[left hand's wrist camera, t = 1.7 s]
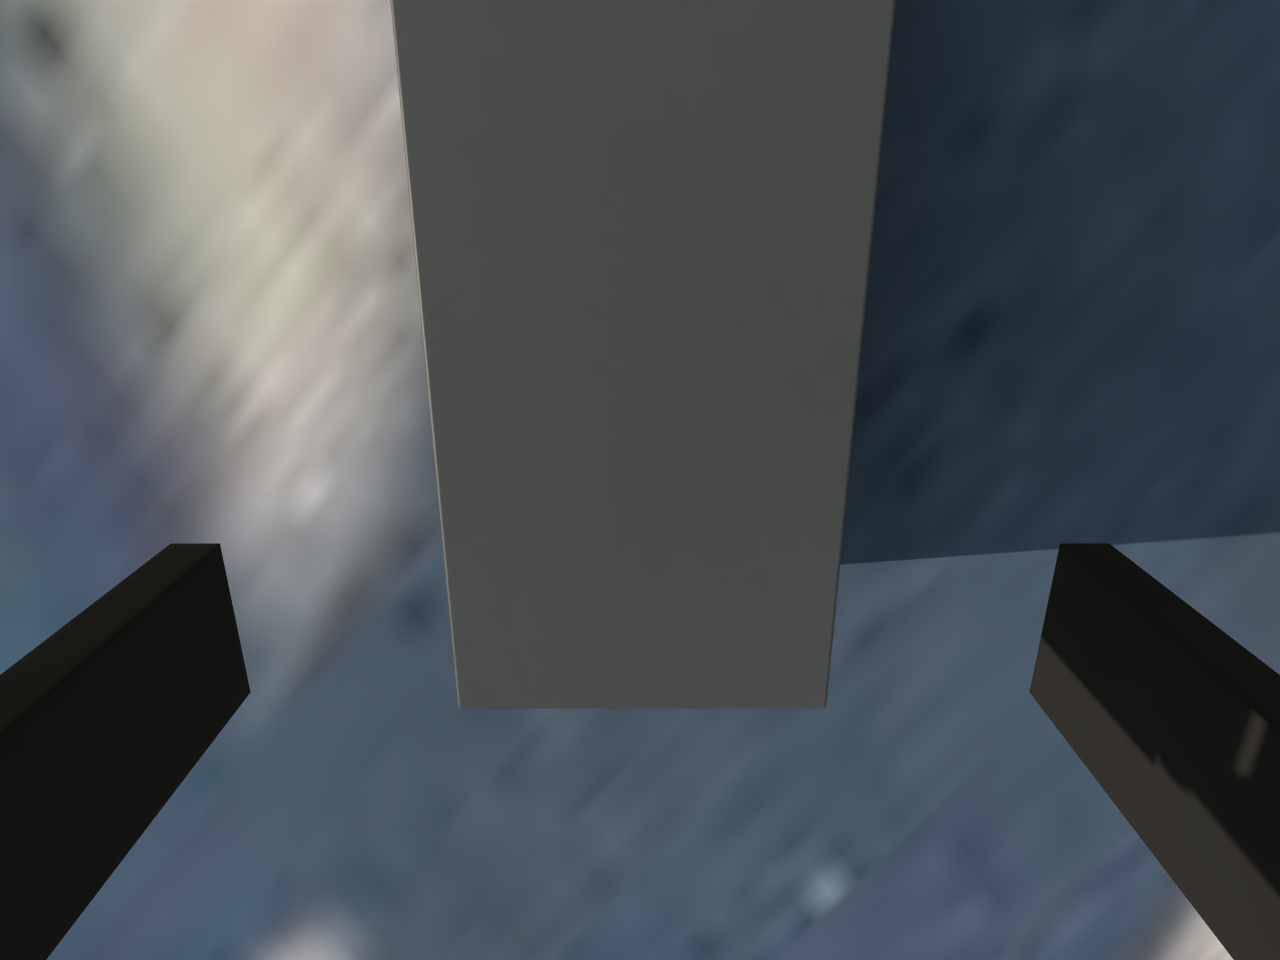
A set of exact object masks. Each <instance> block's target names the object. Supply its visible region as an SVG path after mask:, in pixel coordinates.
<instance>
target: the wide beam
mask: <svg viewBox="0 0 1280 960" xmlns="http://www.w3.org/2000/svg"><path fill="white" fill-rule="evenodd" d="M390 1H391V11H392V22H393V32H394V42H395V53H396V63H397V74H398V84H399V94H400V105H401V115H402V125H403V136H404V146H405V156H406V167H407V177H408V188H409V198H410V208H411V219H412V229H413V239H414V250H415V260H416V270H417V281H418V291H419V302H420V312H421V322H422V333H423V343H424V353H425V364H426V374H427V384H428V395H429V405H430V416H431V426H432V436H433V447H434V457H435V467H436V478H437V488H438V499H439V509H440V519H441V530H442V540H443V550H444V561H445V571H446V581H447V592H448V602H449V613H450V623H451V633H452V644H453V654H454V664H455V675H456V685H457V695H458V705H459V708H825V707H826V702H827V692H828V682H829V672H830V662H831V652H832V642H833V632H834V621H835V611H836V601H837V591H838V581H839V571H840V561H841V551H842V541H843V530H844V520H845V510H846V500H847V490H848V480H849V470H850V460H851V450H852V439H853V429H854V419H855V409H856V399H857V389H858V379H859V369H860V359H861V348H862V338H863V328H864V318H865V308H866V298H867V288H868V278H869V268H870V257H871V247H872V237H873V227H874V217H875V207H876V197H877V187H878V177H879V166H880V156H881V146H882V136H883V126H884V116H885V106H886V96H887V86H888V75H889V65H890V55H891V45H892V35H893V25H894V15H895V5H896V0H390Z"/></svg>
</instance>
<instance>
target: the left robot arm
mask: <svg viewBox="0 0 1280 960" xmlns="http://www.w3.org/2000/svg"><path fill="white" fill-rule="evenodd" d="M249 693H250V688H249V683H248V678H247V673H246V669H245V664H244V659H243V654H242V649H241V644H240V639H239V634H238V630H237V625H236V620H235V615H234V610H233V605H232V600H231V596H230V591H229V586H228V581H227V576H226V571H225V566H224V561H223V557H222V552H221V547H220V544H170V545H168V546H167V547H166V548H164V549H163V550H162V551H161V552H159V553H158V554H157V555H155V556H154V557H153V558H152V559H150V560H149V561H148V562H146V563H145V564H144V565H142V566H141V567H140V568H139V569H137V570H136V571H135V572H133V573H132V574H131V575H129V576H128V577H127V578H126V579H124V580H123V581H122V582H120V583H119V584H118V585H117V586H115V587H114V588H113V589H111V590H110V591H109V592H107V593H106V594H105V595H104V596H102V597H101V598H100V599H98V600H97V601H96V602H94V603H93V604H92V605H91V606H89V607H88V608H87V609H85V610H84V611H83V612H81V613H80V614H79V615H78V616H76V617H75V618H74V619H72V620H71V621H70V622H69V623H67V624H66V625H65V626H63V627H62V628H61V629H59V630H58V631H57V632H56V633H54V634H53V635H52V636H50V637H49V638H48V639H46V640H45V641H44V642H43V643H41V644H40V645H39V646H37V647H36V648H35V649H34V650H32V651H31V652H30V653H28V654H27V655H26V656H24V657H23V658H22V659H21V660H19V661H18V662H17V663H15V664H14V665H13V666H11V667H10V668H9V669H8V670H6V671H5V672H4V673H2V674H1V675H0V960H46V959H47V958H48V957H49V955H50V954H51V953H52V951H53V950H54V949H55V948H56V946H57V945H58V944H59V942H60V941H61V940H62V938H63V937H64V936H65V934H66V933H67V932H68V930H69V929H70V928H71V927H72V925H73V924H74V923H75V921H76V920H77V919H78V917H79V916H80V915H81V913H82V912H83V911H84V910H85V908H86V907H87V906H88V904H89V903H90V902H91V900H92V899H93V898H94V896H95V895H96V894H97V892H98V891H99V890H100V889H101V887H102V886H103V885H104V883H105V882H106V881H107V879H108V878H109V877H110V875H111V874H112V873H113V872H114V870H115V869H116V868H117V866H118V865H119V864H120V862H121V861H122V860H123V858H124V857H125V856H126V854H127V853H128V852H129V851H130V849H131V848H132V847H133V845H134V844H135V843H136V841H137V840H138V839H139V837H140V836H141V835H142V834H143V832H144V831H145V830H146V828H147V827H148V826H149V824H150V823H151V822H152V820H153V819H154V818H155V817H156V815H157V814H158V813H159V811H160V810H161V809H162V807H163V806H164V805H165V803H166V802H167V801H168V799H169V798H170V797H171V796H172V794H173V793H174V792H175V790H176V789H177V788H178V786H179V785H180V784H181V782H182V781H183V780H184V779H185V777H186V776H187V775H188V773H189V772H190V771H191V769H192V768H193V767H194V765H195V764H196V763H197V761H198V760H199V759H200V758H201V756H202V755H203V754H204V752H205V751H206V750H207V748H208V747H209V746H210V744H211V743H212V742H213V741H214V739H215V738H216V737H217V735H218V734H219V733H220V731H221V730H222V729H223V727H224V726H225V725H226V723H227V722H228V721H229V720H230V718H231V717H232V716H233V714H234V713H235V712H236V710H237V709H238V708H239V706H240V705H241V704H242V703H243V701H244V700H245V699H246V697H247V696H248V695H249ZM1030 693H1031V695H1032V696H1033V697H1034V699H1035V700H1036V701H1037V703H1038V704H1039V705H1040V706H1041V708H1042V709H1043V710H1044V712H1045V713H1046V714H1047V716H1048V717H1049V718H1050V720H1051V721H1052V722H1053V723H1054V725H1055V726H1056V727H1057V729H1058V730H1059V731H1060V733H1061V734H1062V735H1063V737H1064V738H1065V739H1066V741H1067V742H1068V743H1069V744H1070V746H1071V747H1072V748H1073V750H1074V751H1075V752H1076V754H1077V755H1078V756H1079V758H1080V759H1081V760H1082V761H1083V763H1084V764H1085V765H1086V767H1087V768H1088V769H1089V771H1090V772H1091V773H1092V775H1093V776H1094V777H1095V779H1096V780H1097V781H1098V782H1099V784H1100V785H1101V786H1102V788H1103V789H1104V790H1105V792H1106V793H1107V794H1108V796H1109V797H1110V798H1111V799H1112V801H1113V802H1114V803H1115V805H1116V806H1117V807H1118V809H1119V810H1120V811H1121V813H1122V814H1123V815H1124V817H1125V818H1126V819H1127V820H1128V822H1129V823H1130V824H1131V826H1132V827H1133V828H1134V830H1135V831H1136V832H1137V834H1138V835H1139V836H1140V837H1141V839H1142V840H1143V841H1144V843H1145V844H1146V845H1147V847H1148V848H1149V849H1150V851H1151V852H1152V853H1153V854H1154V856H1155V857H1156V858H1157V860H1158V861H1159V862H1160V864H1161V865H1162V866H1163V868H1164V869H1165V870H1166V872H1167V873H1168V874H1169V875H1170V877H1171V878H1172V879H1173V881H1174V882H1175V883H1176V885H1177V886H1178V887H1179V889H1180V890H1181V891H1182V892H1183V894H1184V895H1185V896H1186V898H1187V899H1188V900H1189V902H1190V903H1191V904H1192V906H1193V907H1194V908H1195V910H1196V911H1197V912H1198V913H1199V915H1200V916H1201V917H1202V919H1203V920H1204V921H1205V923H1206V924H1207V925H1208V927H1209V928H1210V929H1211V930H1212V932H1213V933H1214V934H1215V936H1216V937H1217V938H1218V940H1219V941H1220V942H1221V944H1222V945H1223V946H1224V948H1225V949H1226V950H1227V951H1228V953H1229V954H1230V955H1231V957H1232V958H1233V959H1234V960H1280V675H1279V674H1278V673H1276V672H1275V671H1274V670H1272V669H1271V668H1270V667H1269V666H1267V665H1266V664H1265V663H1263V662H1262V661H1261V660H1259V659H1258V658H1257V657H1256V656H1254V655H1253V654H1252V653H1250V652H1249V651H1248V650H1246V649H1245V648H1244V647H1243V646H1241V645H1240V644H1239V643H1237V642H1236V641H1235V640H1234V639H1232V638H1231V637H1230V636H1228V635H1227V634H1226V633H1224V632H1223V631H1222V630H1221V629H1219V628H1218V627H1217V626H1215V625H1214V624H1213V623H1211V622H1210V621H1209V620H1208V619H1206V618H1205V617H1204V616H1202V615H1201V614H1200V613H1199V612H1197V611H1196V610H1195V609H1193V608H1192V607H1191V606H1189V605H1188V604H1187V603H1186V602H1184V601H1183V600H1182V599H1180V598H1179V597H1178V596H1176V595H1175V594H1174V593H1173V592H1171V591H1170V590H1169V589H1167V588H1166V587H1165V586H1163V585H1162V584H1161V583H1160V582H1158V581H1157V580H1156V579H1154V578H1153V577H1152V576H1151V575H1149V574H1148V573H1147V572H1145V571H1144V570H1143V569H1141V568H1140V567H1139V566H1138V565H1136V564H1135V563H1134V562H1132V561H1131V560H1130V559H1128V558H1127V557H1126V556H1125V555H1123V554H1122V553H1121V552H1119V551H1118V550H1117V549H1116V548H1114V547H1113V546H1112V545H1110V544H1060V547H1059V552H1058V557H1057V561H1056V566H1055V571H1054V576H1053V581H1052V586H1051V591H1050V596H1049V600H1048V605H1047V610H1046V615H1045V620H1044V625H1043V630H1042V634H1041V639H1040V644H1039V649H1038V654H1037V659H1036V664H1035V669H1034V673H1033V678H1032V683H1031V688H1030Z"/></svg>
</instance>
